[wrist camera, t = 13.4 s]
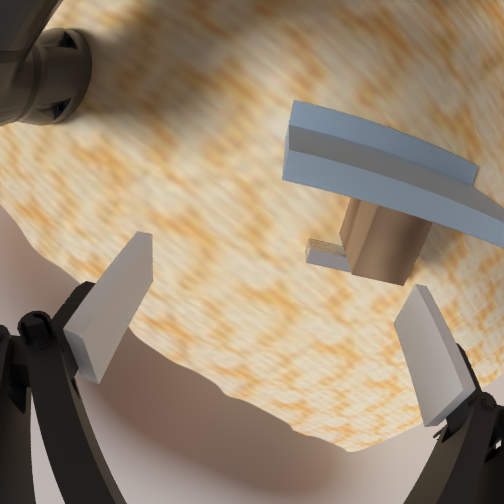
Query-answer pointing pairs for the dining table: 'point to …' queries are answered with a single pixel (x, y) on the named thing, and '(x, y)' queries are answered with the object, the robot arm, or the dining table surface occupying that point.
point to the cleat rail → (326, 255)
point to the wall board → (387, 170)
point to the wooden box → (382, 241)
